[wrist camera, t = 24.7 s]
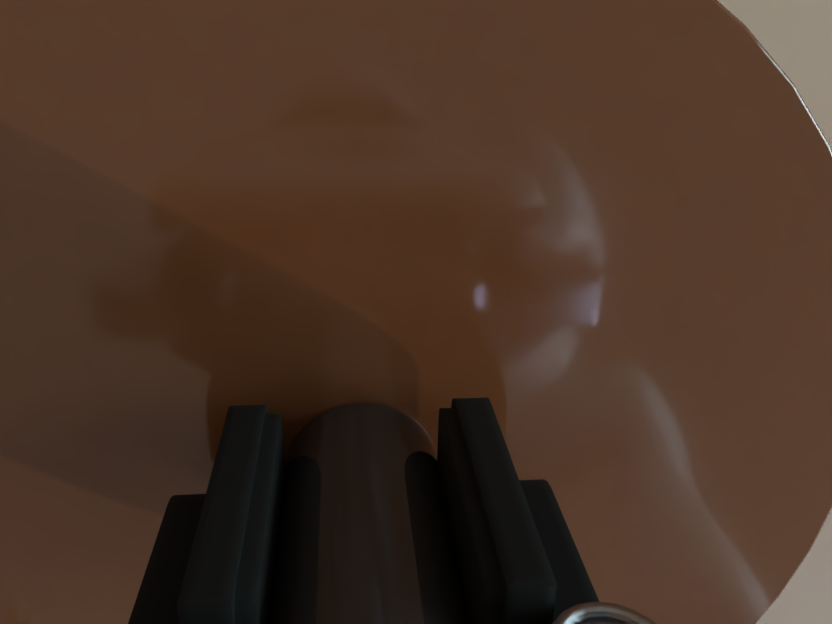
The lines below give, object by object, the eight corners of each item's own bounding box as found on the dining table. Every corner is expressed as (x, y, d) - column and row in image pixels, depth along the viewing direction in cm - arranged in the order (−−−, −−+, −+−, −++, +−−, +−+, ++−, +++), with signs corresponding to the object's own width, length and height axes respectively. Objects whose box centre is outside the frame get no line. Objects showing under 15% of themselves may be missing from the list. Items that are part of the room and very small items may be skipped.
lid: (951, -108, 10) (1839, -250, 4) (731, 729, 17) (954, 1149, 11) (-353, -151, 9) (-1928, -477, 3) (-41, 788, 15) (-293, 1317, 9)
